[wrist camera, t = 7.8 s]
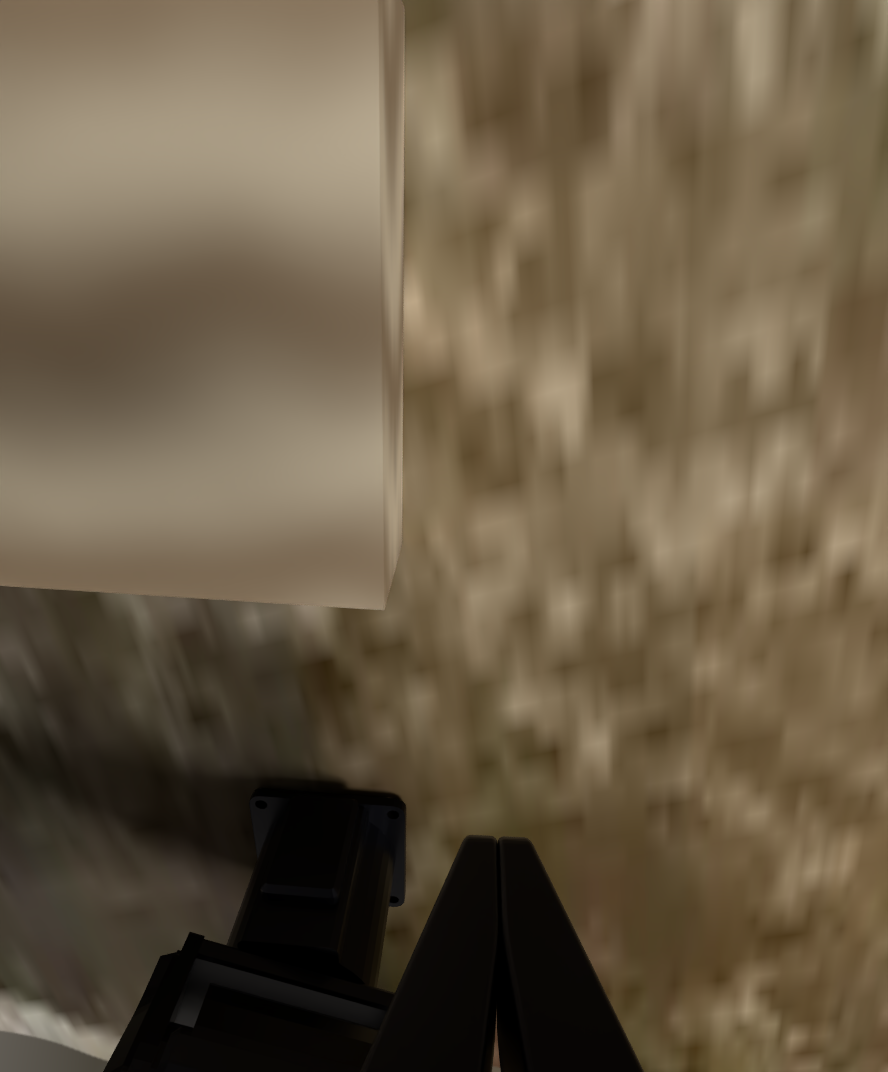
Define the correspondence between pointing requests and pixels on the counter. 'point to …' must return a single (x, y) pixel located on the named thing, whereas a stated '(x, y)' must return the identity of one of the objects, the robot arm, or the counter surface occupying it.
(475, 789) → the counter surface
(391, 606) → the counter surface
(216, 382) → the board
